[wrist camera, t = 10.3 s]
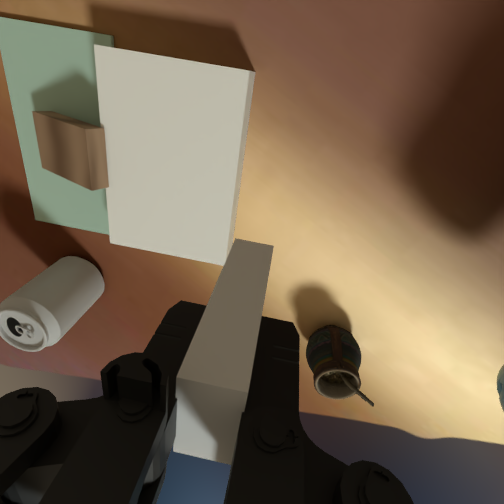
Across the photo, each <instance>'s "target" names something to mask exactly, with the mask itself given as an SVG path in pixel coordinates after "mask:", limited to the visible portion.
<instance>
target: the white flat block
mask: <svg viewBox="0 0 504 504" xmlns="http://www.w3.org/2000/svg"><path fill="white" fill-rule="evenodd" d="M94 53H95V65H96V77H97V89H98V101H99V113H100V125H101V127H102V128H104V130H105V142H106V155H107V168H108V181H109V187H108V188H106V198H107V210H108V222H109V234H110V243H113V244H118V245H123V246H128V247H133V248H138V249H143V250H148V251H153V252H158V253H163V254H168V255H173V256H178V257H183V258H188V259H193V260H198V261H203V262H208V263H213V264H218V265H223V266H224V264H225V262H226V260H227V257H228V255H229V253H230V250H231V248H232V244H233V236H234V229H235V221H236V214H237V206H238V199H239V191H240V184H241V176H242V169H243V161H244V153H245V146H246V138H247V131H248V123H249V116H250V108H251V101H252V93H253V86H254V78H255V72H253V71H249V70H243V69H237V68H231V67H225V66H219V65H213V64H207V63H201V62H195V61H189V60H184V59H178V58H172V57H166V56H160V55H154V54H148V53H142V52H136V51H130V50H124V49H119V48H113V47H107V46H101V45H95V44H94Z"/></svg>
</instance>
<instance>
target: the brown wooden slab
mask: <svg viewBox="0 0 504 504" xmlns="http://www.w3.org/2000/svg"><path fill="white" fill-rule="evenodd" d="M32 114H33V120H34V125H35V131H36V137H37V142H38V148H39V153H40V159H41V164H42V168H43V169H46V170H48V171H50V172H52V173H54V174H56V175H59V176H61V177H63V178H65V179H67V180H69V181H71V182H74V183H76V184H78V185H80V186H82V187H84V188H87V189H89V190H91V191H94V190H98V189H103V188H108V187H109V181H108V168H107V155H106V142H105V130H104V128H102V127H99V126H96V125H92V124H89V123H86V122H83V121H80V120H77V119H74V118H71V117H68V116H65V115H62V114H59V113H56V112H53V111H32Z"/></svg>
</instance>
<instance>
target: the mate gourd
mask: <svg viewBox="0 0 504 504" xmlns="http://www.w3.org/2000/svg"><path fill="white" fill-rule="evenodd" d="M306 358H307V362H308V365H309V367H310V369H311V370H312V372H313V373H314V377H313V378H314V387H315V389H316V390H317V392H318V393H319V394H321V395H322V396H324V397H327V398H330V399H345V398H348V397H351V396H352V395H354V394H358V395H359V396H360V397H361V398H362V399H364V400H365V401H367V402H368V403H369V404H370V405H372V406H374V403H373V402H372V401H370V399H368V398H367V397H366V396H365V395H364V394H363V393H362V392H360V391H359V389H360V386H361V381H360V378H359V373H358V370H359V367H360V364H361V351H360V348H359V345H358V344H357V342H356V340H355V339H354V337H353V336H352V334H351V333H350V332H348V331H347V330H345V329H343V328H340V327H337V326H334V325H333V326H331V325H329V326H326V327H323V328H320V329H318V330H317V331H315V332H314V333H313V334H312V335H311V337H310V338H309V341H308V345H307V349H306Z"/></svg>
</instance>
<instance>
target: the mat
mask: <svg viewBox="0 0 504 504" xmlns="http://www.w3.org/2000/svg"><path fill="white" fill-rule="evenodd" d="M94 44H95V45H101V46H107V47H113V48H114V39H113V36H111V35H106V34H100V33H94V32H88V31H82V30H76V29H70V28H64V27H58V26H52V25H46V24H40V23H34V22H28V21H22V20H16V19H10V18H4V17H0V50H1V55H2V60H3V65H4V70H5V75H6V79H7V84H8V89H9V94H10V99H11V104H12V108H13V113H14V118H15V123H16V128H17V133H18V138H19V142H20V147H21V152H22V157H23V162H24V167H25V172H26V176H27V181H28V186H29V191H30V196H31V201H32V205H33V210H34V215H35V220H38V221H43V222H48V223H53V224H58V225H63V226H68V227H73V228H78V229H83V230H88V231H93V232H98V233H103V234H109V222H108V210H107V198H106V188H103V189H98V190H94V191H91V190H89V189H87V188H84V187H82V186H80V185H78V184H76V183H74V182H71V181H69V180H67V179H65V178H63V177H61V176H59V175H56V174H54V173H52V172H50V171H48V170H46V169H43V168H42V164H41V159H40V153H39V148H38V142H37V137H36V131H35V125H34V120H33V114H32V111H53V112H56V113H59V114H62V115H65V116H68V117H71V118H74V119H77V120H80V121H83V122H86V123H89V124H92V125H96V126H99V127H101V125H100V113H99V101H98V89H97V77H96V65H95V53H94ZM109 235H110V234H109Z"/></svg>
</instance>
